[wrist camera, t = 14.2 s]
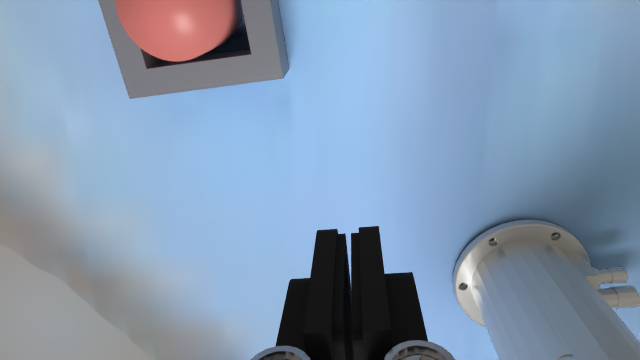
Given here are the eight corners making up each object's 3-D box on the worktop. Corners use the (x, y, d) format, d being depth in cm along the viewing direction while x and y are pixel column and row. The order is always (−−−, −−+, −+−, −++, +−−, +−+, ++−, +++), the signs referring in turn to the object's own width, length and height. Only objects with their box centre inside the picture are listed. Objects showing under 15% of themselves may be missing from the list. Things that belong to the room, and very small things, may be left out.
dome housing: (261, -101, 31) (250, -113, 28) (289, 68, 36) (283, 78, 32) (103, -73, 32) (72, -81, 29) (150, 87, 37) (129, 98, 33)
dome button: (232, -57, 32) (208, -66, 26) (251, 43, 34) (234, 53, 29) (140, -42, 32) (99, -48, 27) (166, 55, 35) (134, 67, 30)
